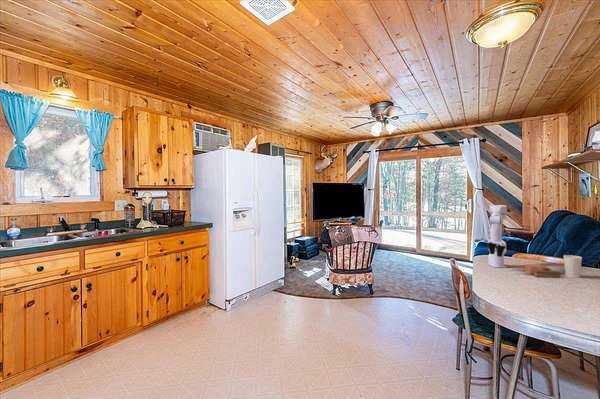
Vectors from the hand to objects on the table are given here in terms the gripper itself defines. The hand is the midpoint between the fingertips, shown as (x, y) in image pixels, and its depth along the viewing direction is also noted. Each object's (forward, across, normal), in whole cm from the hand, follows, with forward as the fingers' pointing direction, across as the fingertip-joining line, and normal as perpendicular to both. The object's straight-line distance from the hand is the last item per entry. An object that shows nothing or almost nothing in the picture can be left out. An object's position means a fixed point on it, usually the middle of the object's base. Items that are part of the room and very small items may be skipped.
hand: (495, 255), depth 180 cm
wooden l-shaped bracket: (+10, +6, +22) cm, 25 cm away
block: (+10, +4, +21) cm, 24 cm away
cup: (+10, +10, +38) cm, 41 cm away
